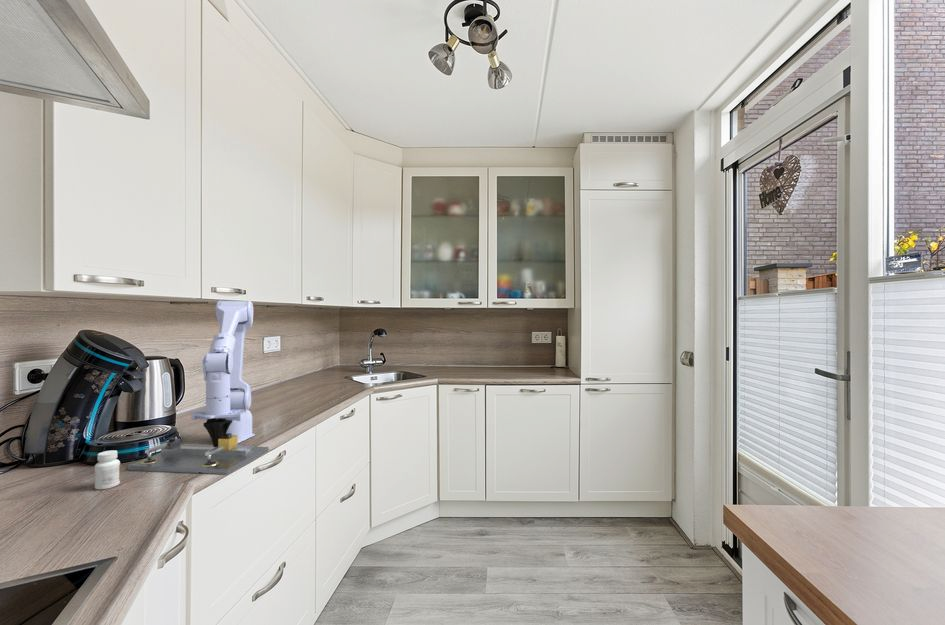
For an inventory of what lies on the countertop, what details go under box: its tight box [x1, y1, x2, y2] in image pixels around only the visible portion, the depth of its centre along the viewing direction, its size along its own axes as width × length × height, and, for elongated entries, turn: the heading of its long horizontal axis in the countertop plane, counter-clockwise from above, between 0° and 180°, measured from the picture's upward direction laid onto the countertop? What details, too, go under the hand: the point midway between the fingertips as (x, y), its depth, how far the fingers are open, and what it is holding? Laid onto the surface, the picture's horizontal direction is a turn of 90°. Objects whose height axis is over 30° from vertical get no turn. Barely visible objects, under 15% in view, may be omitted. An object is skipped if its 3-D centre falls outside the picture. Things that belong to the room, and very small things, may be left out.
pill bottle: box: [94, 450, 121, 490], centre depth 95 cm, size 4×4×8 cm
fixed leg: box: [144, 437, 182, 460], centre depth 111 cm, size 9×2×3 cm, turn 174°
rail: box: [160, 446, 250, 456], centre depth 113 cm, size 2×25×2 cm, turn 84°
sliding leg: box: [205, 433, 239, 463], centre depth 109 cm, size 10×3×5 cm, turn 174°
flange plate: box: [128, 443, 269, 475], centre depth 111 cm, size 17×27×1 cm, turn 84°
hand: (218, 446), depth 112 cm, fingers closed
